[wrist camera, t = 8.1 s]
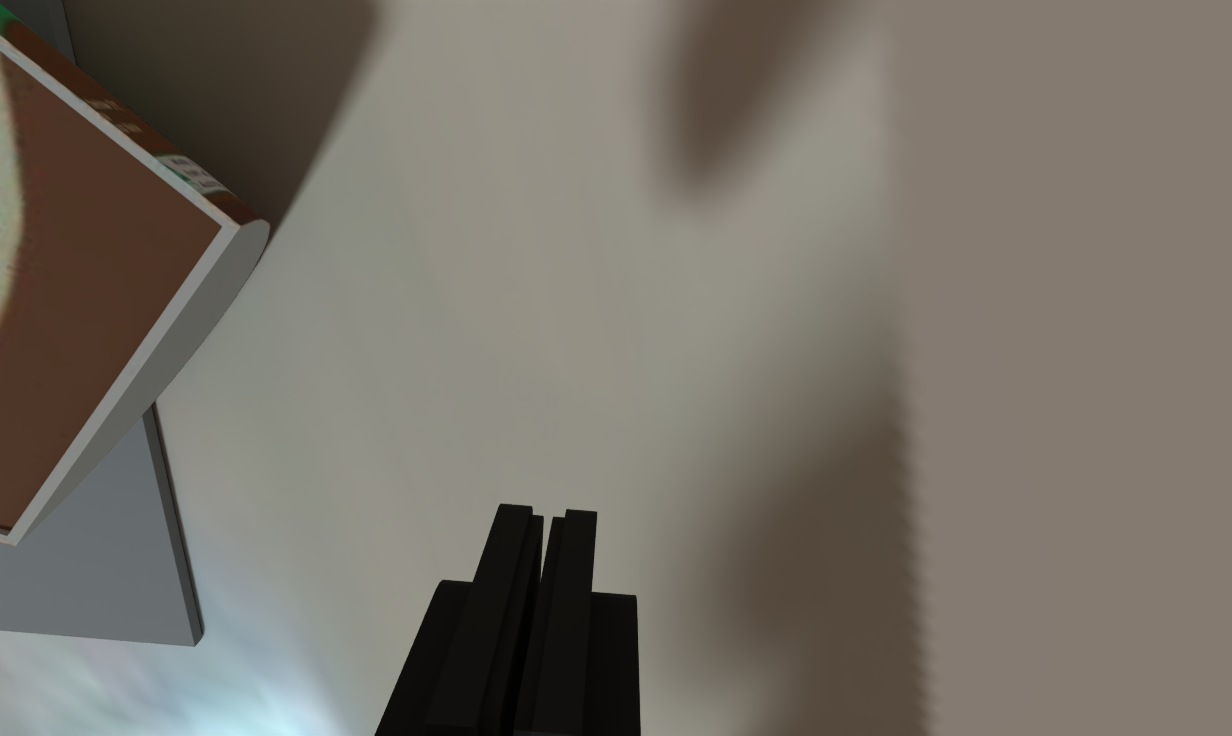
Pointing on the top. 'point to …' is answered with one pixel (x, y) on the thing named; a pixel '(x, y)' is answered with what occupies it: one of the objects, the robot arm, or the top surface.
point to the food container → (95, 271)
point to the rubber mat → (102, 520)
